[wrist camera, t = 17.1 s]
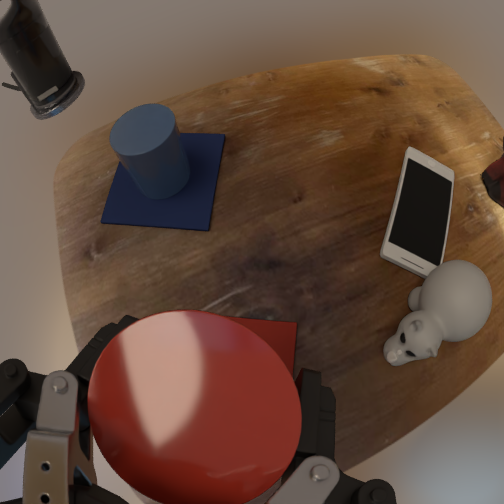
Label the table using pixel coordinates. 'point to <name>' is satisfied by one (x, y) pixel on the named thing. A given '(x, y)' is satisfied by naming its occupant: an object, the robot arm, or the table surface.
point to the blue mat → (179, 205)
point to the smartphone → (419, 215)
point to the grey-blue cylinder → (151, 150)
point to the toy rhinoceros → (441, 312)
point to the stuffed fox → (495, 179)
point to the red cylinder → (194, 409)
